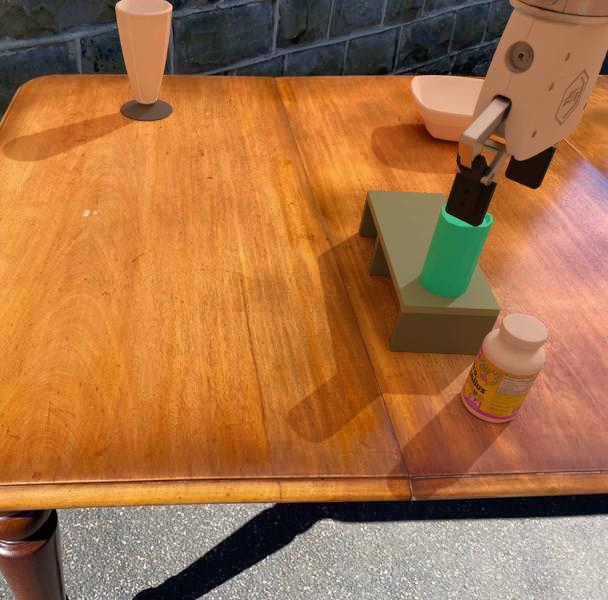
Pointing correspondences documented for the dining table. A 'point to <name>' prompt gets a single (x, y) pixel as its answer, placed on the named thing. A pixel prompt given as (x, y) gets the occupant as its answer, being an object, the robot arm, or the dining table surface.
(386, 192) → the shelf
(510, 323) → the supplement bottle
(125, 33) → the cup
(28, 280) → the dining table surface
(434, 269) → the candle
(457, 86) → the bowl
